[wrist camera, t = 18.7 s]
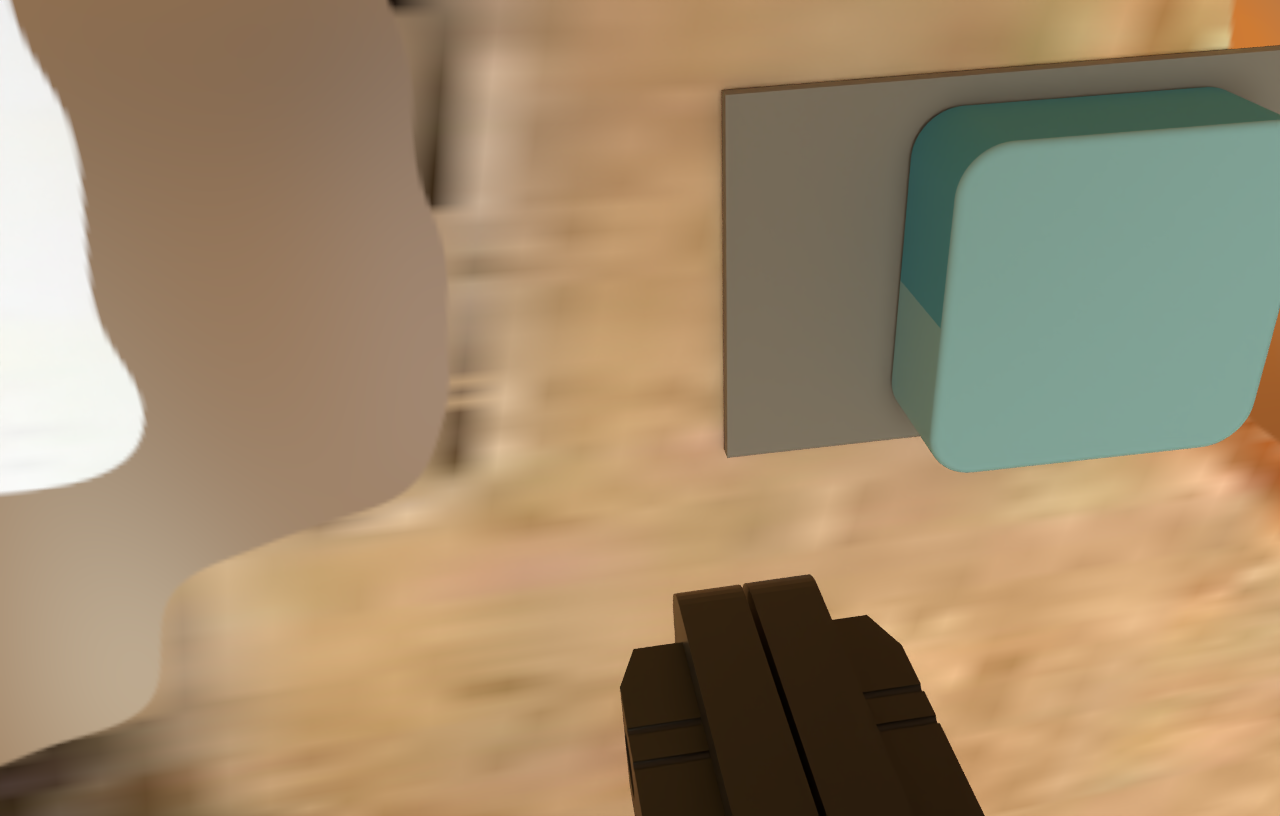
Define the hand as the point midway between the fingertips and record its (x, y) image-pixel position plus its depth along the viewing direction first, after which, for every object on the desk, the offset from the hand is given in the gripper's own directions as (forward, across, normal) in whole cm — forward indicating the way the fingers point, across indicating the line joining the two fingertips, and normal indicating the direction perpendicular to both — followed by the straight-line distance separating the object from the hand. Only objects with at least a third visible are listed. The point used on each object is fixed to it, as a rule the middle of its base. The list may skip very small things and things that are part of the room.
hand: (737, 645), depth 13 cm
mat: (+28, -15, +9) cm, 33 cm away
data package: (+25, -11, +9) cm, 29 cm away
